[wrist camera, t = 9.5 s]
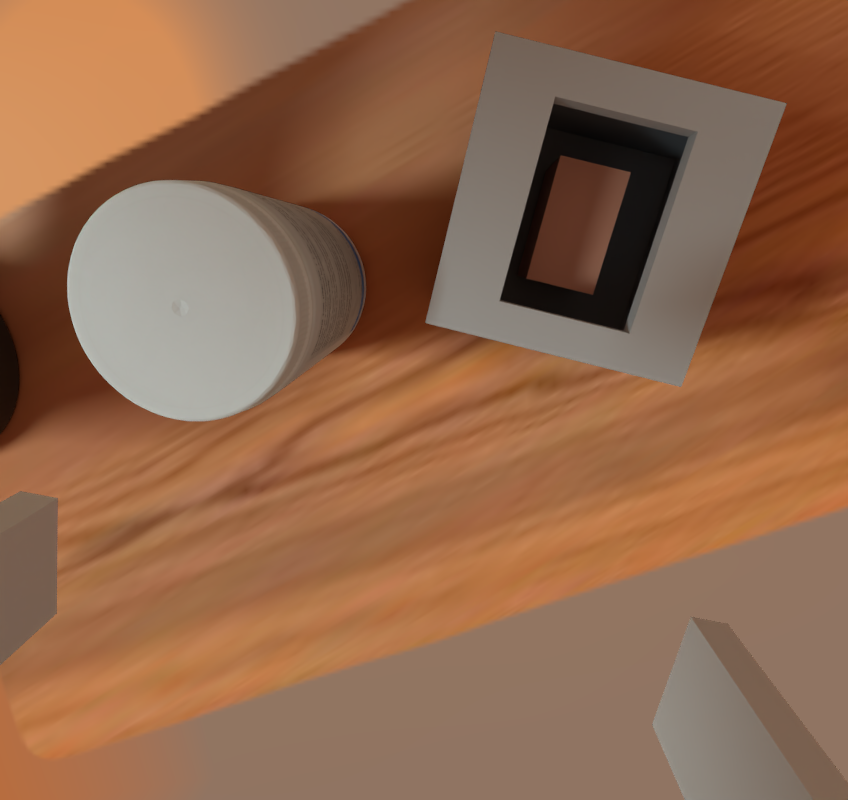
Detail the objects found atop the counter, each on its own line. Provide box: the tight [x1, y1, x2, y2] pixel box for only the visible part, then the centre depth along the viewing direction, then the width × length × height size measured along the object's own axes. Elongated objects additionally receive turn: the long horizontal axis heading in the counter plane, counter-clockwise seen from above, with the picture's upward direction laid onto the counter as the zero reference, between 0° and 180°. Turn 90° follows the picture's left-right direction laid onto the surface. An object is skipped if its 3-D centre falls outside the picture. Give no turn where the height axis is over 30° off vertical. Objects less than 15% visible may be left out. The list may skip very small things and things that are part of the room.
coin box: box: [425, 31, 787, 387], centre depth 28 cm, size 12×12×10 cm
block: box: [517, 155, 631, 295], centre depth 30 cm, size 6×4×5 cm, turn 167°
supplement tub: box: [67, 180, 366, 421], centre depth 28 cm, size 10×10×15 cm
